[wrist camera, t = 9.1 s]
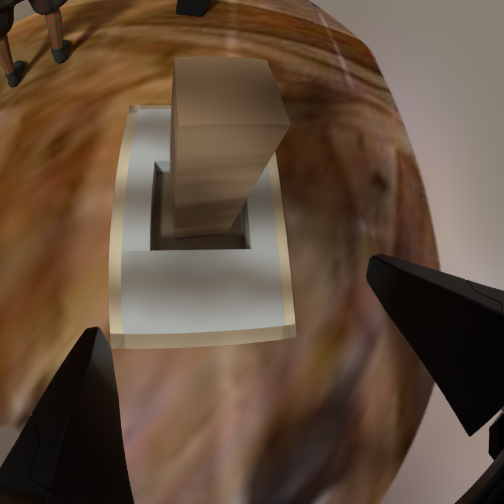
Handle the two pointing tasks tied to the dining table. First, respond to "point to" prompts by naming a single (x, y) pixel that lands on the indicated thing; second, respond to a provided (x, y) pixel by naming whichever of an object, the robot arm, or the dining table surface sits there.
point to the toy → (48, 4)
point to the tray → (192, 256)
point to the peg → (220, 138)
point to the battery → (192, 7)
